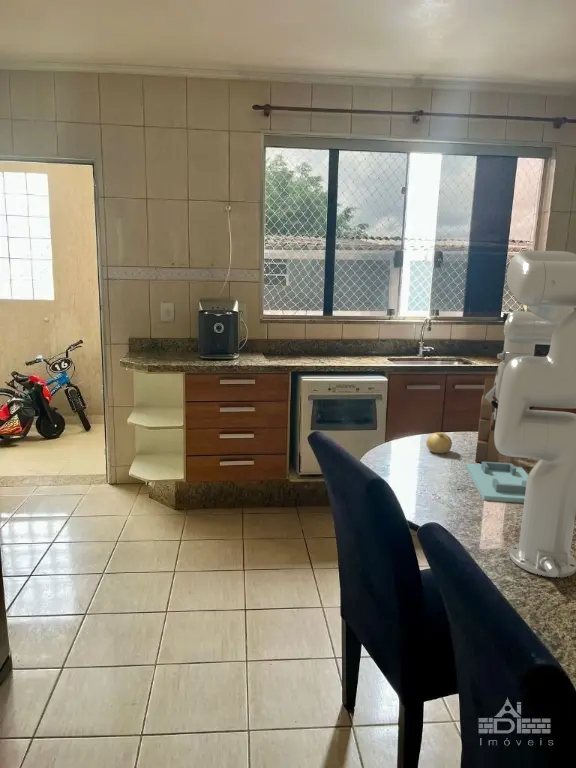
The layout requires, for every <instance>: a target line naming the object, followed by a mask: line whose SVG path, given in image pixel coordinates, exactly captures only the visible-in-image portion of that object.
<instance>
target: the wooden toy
mask: <svg viewBox="0 0 576 768" xmlns="http://www.w3.org/2000/svg"><path fill="white" fill-rule="evenodd" d="M494 382H495V378H485V380H484V385H483V386H484V387H483V394H482V396H481V401H480V402H481V405H480V413H479V422H478V431H477V440H476V441H477V442H476V449H475V450H476V451H475V463H479V464H482V462H497V463H499V462H498V461H499V454H500V452H499V451H498V450H497V449H496V446H495V442H494V432H495V424H496V421H495V419H494V413H495V411H492V410H493V405H492V404H491V403H490V402H489V401H488V400H487V399H486V398H485V395H486V394H487V393H488V392H489V391H490V390H491V389H492V388H493V387H494ZM492 398H493V399H494V396H493V397H492Z"/></svg>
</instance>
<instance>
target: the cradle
mask: <svg viewBox="0 0 576 768" xmlns="http://www.w3.org/2000/svg"><path fill="white" fill-rule="evenodd" d="M465 470H466V471H467V473H468V474H469V476H470V478H471V480H472V481H473V484H474V485H475V487H476V488H477V490H478V493H479V494H480V496H481V498H482V500H483V501H488V502H489V501H493V502H503V503H504V502H505V503H506V502H507V503H519V504H521V503H522V504H524V500H525V492H526V484H527V478H528V475H529V474H528V472H526V470H524V468H523V466H515V465H514V464H513V463H510V462H509V463H508V462H482V463H465Z"/></svg>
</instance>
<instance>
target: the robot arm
mask: <svg viewBox="0 0 576 768" xmlns="http://www.w3.org/2000/svg"><path fill="white" fill-rule="evenodd" d="M506 284H507V288H508V290H509V291H510V292H511V294H512V295H513V296H514V297H515V299H516V300H517V302H518V303H519V304H521V305H523V306H526V307H527V309H528V310H529V311H524V310H522V311H521V310H516V311H515V310H513V311H511V312H509V313H508V314H507V317H506V320H505V322H504V327H503V335H504V344H503V350H502V351H501V353H497V355H496V357H497V359H500V360H501V361H500V362H499V363H498V367H497V370H496V374H495V378H494V381H495V382H494V387H493V388H492V389H491V390H490V391H489V392H488V393H487V394H486V395H485V398H486V399H487V400H488V401H489V402H490V403H491V404H492V407H494V409H495V408H496V417H495V421H496V424H495V432H494V442H495V446H496V449H497V450H498V451H499V454H501V455H503V456H506V457H510V458H511V457H512V458H520V459H533V460H539V461H538V462H537V463H535V465H534V466H533V468H531V469H530V471H529V474H528V478H527V484H526V492H525V500H524V503H523V510H522V517H521V518H522V519H521V523H520V524H521V526H520V533H519V541H518V542H517V543H515V544H513V545H511V547H510V549H509V557H510V559H511V561H512V562H513V563H514V564H515V565H516V566H518V567H519V568H521V569H523V570H525V571H527V572H528V573H529V572H530V573H532V574H534V575H537V574H538V576H541V575H542V577H547V578H556V577H557V578H559V577H560V578H567V576H568V577H570V576H572V575H574V574H575V573H576V558H575V557H573V556H572V554H571V549H572V543H573V542H572V541H573V537H574V528H575V523H576V413H573V412H569V411H560V410H559V411H556V410H543V409H541V410H540V409H534V408H535V407H536V408H537V407H538V408H549V409H550V408H552V409H576V254H575V253H573V252H571V251H570V252H569V251H563V250H562V251H560V250H523V251H519V252H518V253H516V254H515V255H514V256H513V257H512V258H511V260H510V261H509V264H508V267H507V270H506ZM536 345H545V346H546V345H547V346H549V351H548V353H547V355H546V356H537V355H536V356H535V349H536V348H535V347H536ZM492 397H493V398H492ZM494 397H495V399H496V400H495V399H494ZM496 401H497V402H496ZM557 578H556V579H557Z"/></svg>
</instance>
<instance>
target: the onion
mask: <svg viewBox="0 0 576 768" xmlns="http://www.w3.org/2000/svg"><path fill="white" fill-rule="evenodd" d="M425 443H426V447H427V449H428V450H429V451H430V452H431V453H433V454H440V455H441V454H447V453H449V452H450V451H451V449H452V446H453V441H452V439H451V437H450V436H449V435H448V434H446V433H445V432H442V431H441V432H440V431H439V432H434V433H431V434H430V435H429V436H428V437H427V439H426V442H425Z"/></svg>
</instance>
